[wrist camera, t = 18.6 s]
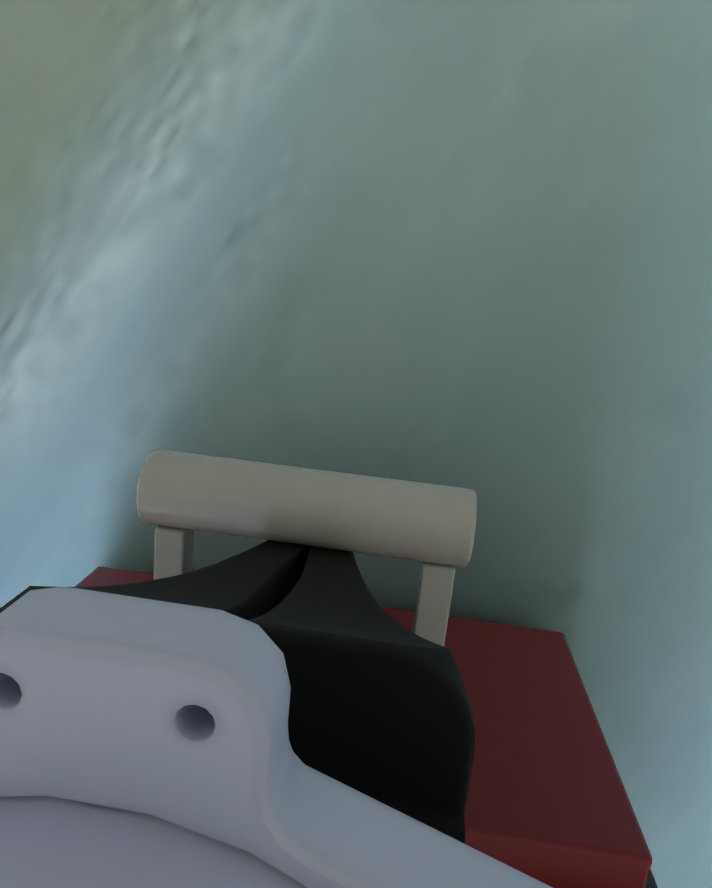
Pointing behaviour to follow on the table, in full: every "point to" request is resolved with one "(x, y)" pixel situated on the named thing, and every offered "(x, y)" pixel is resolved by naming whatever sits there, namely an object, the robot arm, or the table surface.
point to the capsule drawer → (471, 641)
